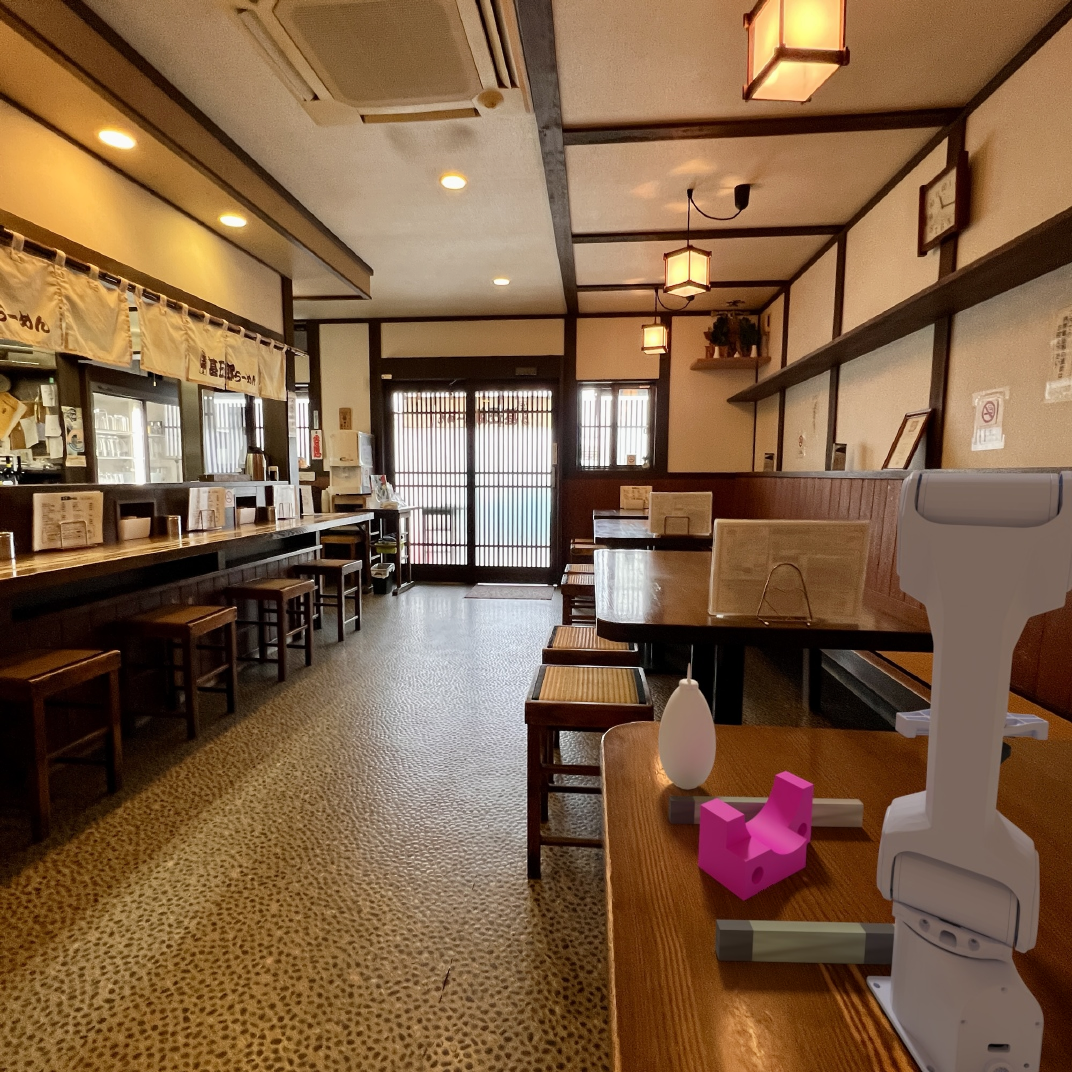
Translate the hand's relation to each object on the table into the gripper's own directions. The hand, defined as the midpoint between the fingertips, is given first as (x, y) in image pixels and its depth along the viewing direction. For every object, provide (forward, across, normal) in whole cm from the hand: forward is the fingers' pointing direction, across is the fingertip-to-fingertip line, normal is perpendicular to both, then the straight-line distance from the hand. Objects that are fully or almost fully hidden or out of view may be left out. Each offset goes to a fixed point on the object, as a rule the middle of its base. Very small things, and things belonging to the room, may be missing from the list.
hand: (964, 800), depth 62 cm
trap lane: (+9, +17, 0) cm, 19 cm away
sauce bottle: (+10, +25, -19) cm, 33 cm away
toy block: (+10, +20, -3) cm, 22 cm away
